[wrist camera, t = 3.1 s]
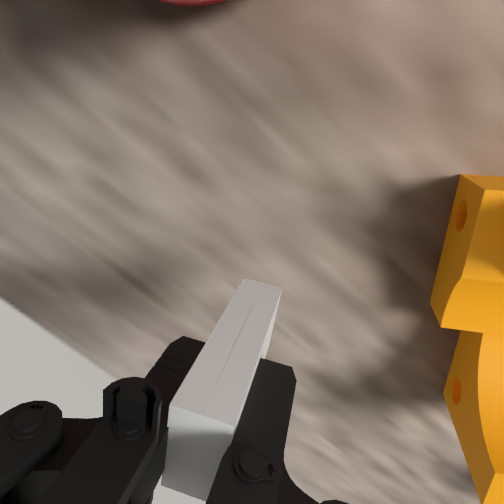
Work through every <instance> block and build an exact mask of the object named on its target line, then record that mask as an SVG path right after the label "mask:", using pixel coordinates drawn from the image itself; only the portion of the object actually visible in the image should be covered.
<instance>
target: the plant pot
mask: <svg viewBox="0 0 504 504" xmlns="http://www.w3.org/2000/svg"><path fill="white" fill-rule="evenodd" d="M158 1H162V2H166V3H170V4H176V5H183V6H202V5H210V4H216V3H220V2H224V1H227V0H158Z"/></svg>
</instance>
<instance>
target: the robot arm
mask: <svg viewBox="0 0 504 504" xmlns="http://www.w3.org/2000/svg"><path fill="white" fill-rule="evenodd" d="M281 292H282V288H280V287H277V286H273V285H269V284H265V283H262V282H258V281H254V280H250V279H246V278H244V279H243V281H242V282H241V284H240V286H239V287H238V289H237V291H236V293H235V294H234V296H233V298H232V299H231V301H230V303H229V304H228V306H227V308H226V310H225V311H224V313H223V315H222V316H221V318H220V320H219V321H218V323H217V325H216V327H215V328H214V330H213V332H212V333H211V335H210V337H209V338H208V340H207V342H206V343H205V342H202V341H198V340H195V339H192V338H188V337H185V336H182V337H181V338H179V339H177V340H175V341H174V342H172V343H170V344H169V346H168V347H167V348H166V350H165V351H164V352H163V354H162V356H161V357H160V358H159V359H158V361H157V362H156V363H155V366H153V367H152V369H151V370H150V371H149V373H148V374H147V376H146V377H145V378H139V377H129V378H122V379H120V380H117V381H115V382H113V383H111V384H110V385H109V386H108V387H106V388H105V389H104V390H103V417H99V418H91V419H79V418H62V411H61V410H60V409H59V408H58V407H57V405H55V404H53V403H50V402H48V401H32V402H27V403H22V404H20V405H18V406H16V407H14V408H12V409H10V410H8V411H7V412H5V413H4V414H2V415H0V504H151V503H152V499H153V491H154V489H155V487H156V485H157V483H158V481H159V479H160V477H161V475H162V481H161V485H162V486H165V487H168V488H171V489H173V490H176V491H179V492H181V493H184V494H187V495H190V496H192V497H195V498H198V499H201V500H203V501H206V504H319V503H318V502H317V501H315V500H314V499H312V498H311V497H310V496H308V495H307V494H306V493H304V492H303V491H302V490H301V489H300V488H298V487H297V486H296V485H295V483H294V482H293V481H292V479H291V478H290V477H289V475H288V473H287V470H286V468H285V464H284V448H285V443H286V437H287V431H288V426H289V420H290V415H291V408H292V403H293V398H294V392H295V386H296V378H295V375H294V372H293V369H292V367H290V366H287V365H283V364H280V363H276V362H273V361H270V360H266V359H265V357H266V354H267V350H268V347H269V343H270V339H271V335H272V330H273V326H274V322H275V317H276V313H277V309H278V304H279V300H280V296H281ZM320 504H348V503H345V502H342V501H338V500H328V501H323V502H322V503H320Z"/></svg>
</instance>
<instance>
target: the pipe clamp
mask: <svg viewBox="0 0 504 504" xmlns="http://www.w3.org/2000/svg"><path fill="white" fill-rule="evenodd" d="M430 304H431V306H432V309H433V311H434V313H435V316H436V318H437V320H438V322H439V325H440V327H442V328H450V329H457V330H461V331H460V335H459V338H458V342H457V345H456V349H455V352H454V356H453V359H452V363H451V366H450V370H449V373H448V377H447V380H446V384H445V387H444V391H443V395H444V398H445V401H446V404H447V407H448V410H449V413H450V415H451V418H452V421H453V424H454V427H455V430H456V433H457V436H458V439H459V441H460V444H461V447H462V450H463V453H464V456H465V459H466V462H467V465H468V467H469V470H470V473H471V476H472V479H473V482H474V485H475V488H476V491H477V493H478V496H479V499H480V502H481V504H504V177H499V176H482V175H465V174H460V178H459V182H458V186H457V190H456V195H455V199H454V203H453V207H452V211H451V216H450V220H449V224H448V228H447V232H446V236H445V241H444V245H443V249H442V253H441V257H440V262H439V266H438V270H437V274H436V278H435V283H434V287H433V291H432V295H431V299H430Z"/></svg>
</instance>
